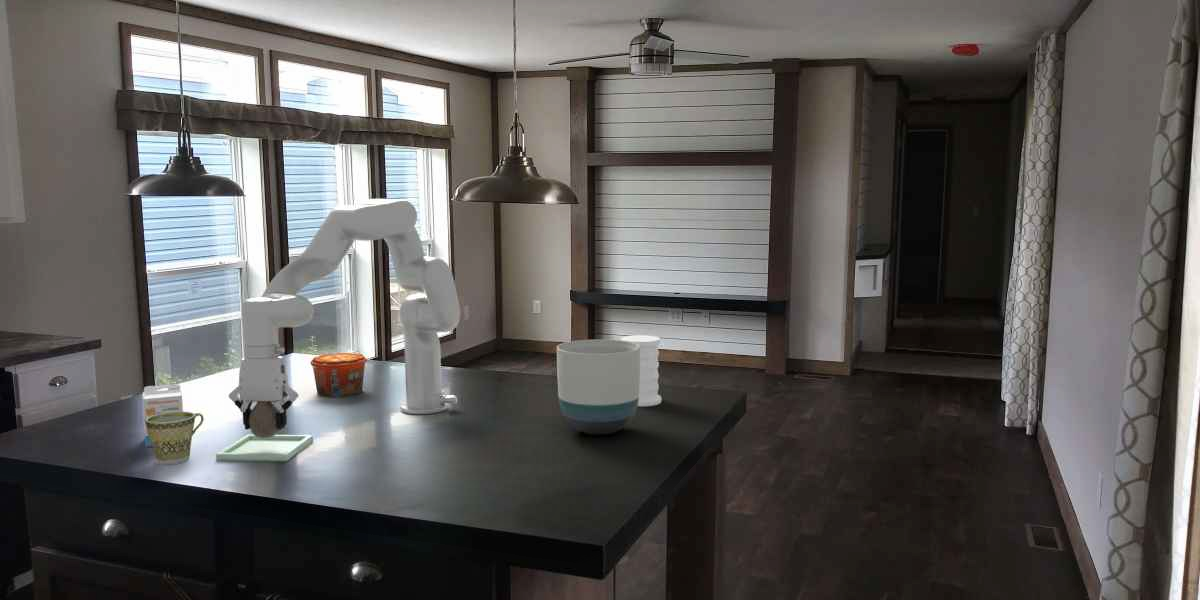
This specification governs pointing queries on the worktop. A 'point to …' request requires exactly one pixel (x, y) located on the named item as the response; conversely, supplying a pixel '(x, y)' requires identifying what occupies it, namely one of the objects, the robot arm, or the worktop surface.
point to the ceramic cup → (172, 436)
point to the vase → (263, 420)
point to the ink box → (160, 403)
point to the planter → (598, 384)
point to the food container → (339, 374)
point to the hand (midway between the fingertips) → (265, 427)
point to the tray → (264, 448)
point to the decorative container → (647, 368)
